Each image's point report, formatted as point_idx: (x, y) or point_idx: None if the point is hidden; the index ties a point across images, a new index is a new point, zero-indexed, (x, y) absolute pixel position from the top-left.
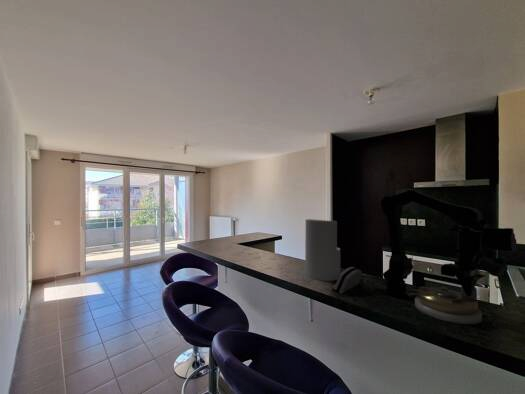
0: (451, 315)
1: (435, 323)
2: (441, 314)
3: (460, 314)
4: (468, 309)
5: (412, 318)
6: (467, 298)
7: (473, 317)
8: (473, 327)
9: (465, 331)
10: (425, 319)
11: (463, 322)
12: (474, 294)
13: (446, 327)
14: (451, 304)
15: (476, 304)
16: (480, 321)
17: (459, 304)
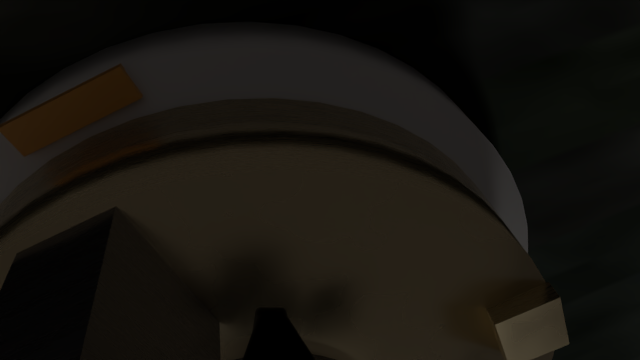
0: (513, 196)
1: (606, 199)
2: (523, 243)
3: (455, 165)
4: (412, 158)
5: (621, 292)
6: (188, 304)
7: (387, 72)
8: (456, 13)
9: (616, 20)
10: (578, 257)
11: (452, 101)
12: (121, 321)
13: (632, 132)
14: (544, 281)
15: (236, 164)
16: (239, 25)
17: (499, 247)
